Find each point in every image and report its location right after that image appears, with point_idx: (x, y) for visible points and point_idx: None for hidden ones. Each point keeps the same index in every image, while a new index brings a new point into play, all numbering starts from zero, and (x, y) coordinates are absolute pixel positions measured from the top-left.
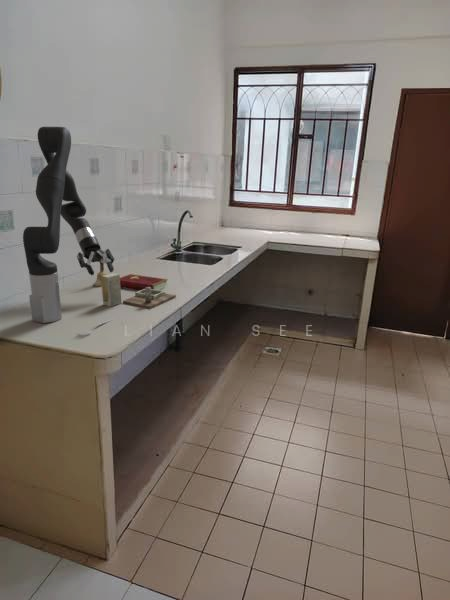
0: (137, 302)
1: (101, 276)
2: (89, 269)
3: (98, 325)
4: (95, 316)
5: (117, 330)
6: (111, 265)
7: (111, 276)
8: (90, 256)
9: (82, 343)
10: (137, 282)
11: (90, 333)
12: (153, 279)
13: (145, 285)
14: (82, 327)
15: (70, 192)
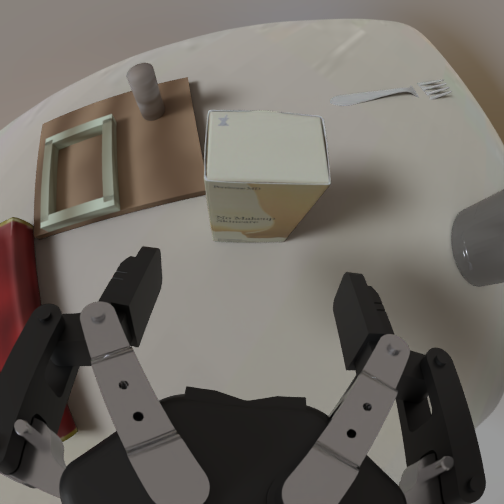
0: (184, 131)
1: (330, 176)
2: (378, 311)
3: (398, 89)
4: (375, 151)
5: (366, 52)
6: (127, 273)
7: (283, 113)
8: (367, 428)
9: (440, 71)
10: (18, 311)
11: (421, 83)
12: None
13: (20, 261)
14: (428, 119)
15: None
